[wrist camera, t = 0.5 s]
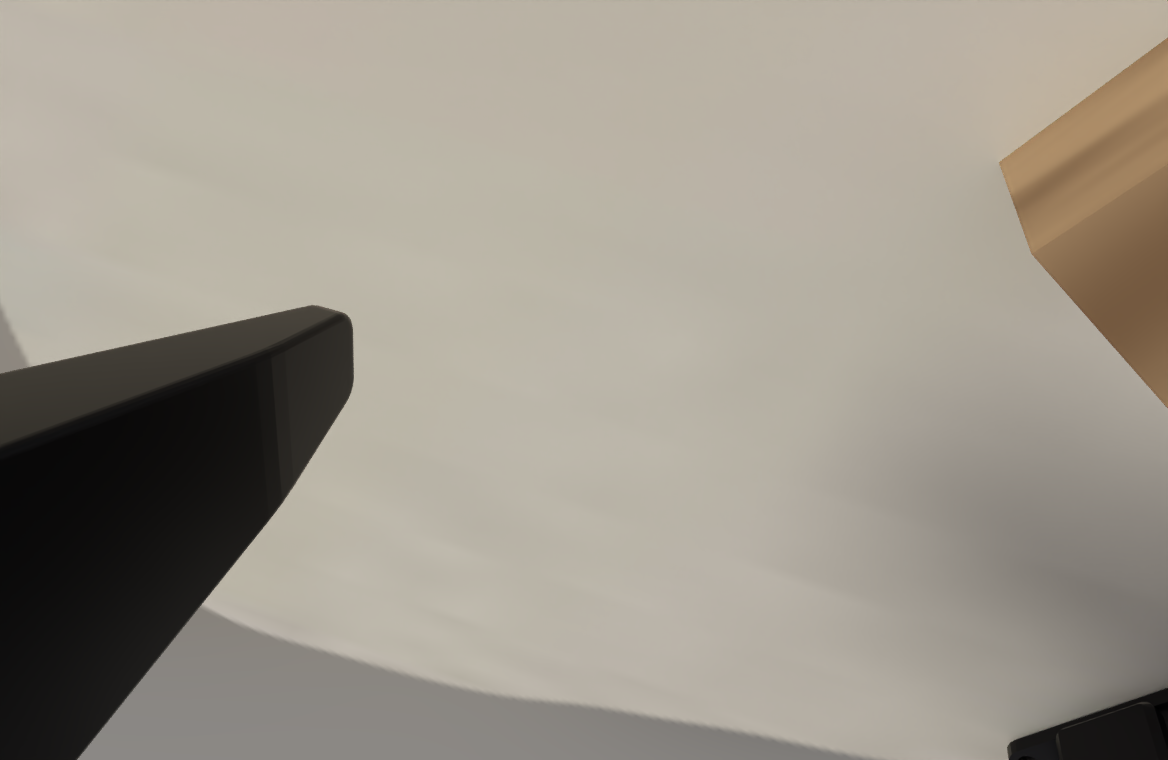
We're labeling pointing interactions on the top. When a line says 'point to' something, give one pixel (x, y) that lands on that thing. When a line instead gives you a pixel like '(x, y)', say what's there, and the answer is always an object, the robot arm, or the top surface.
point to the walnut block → (1106, 210)
